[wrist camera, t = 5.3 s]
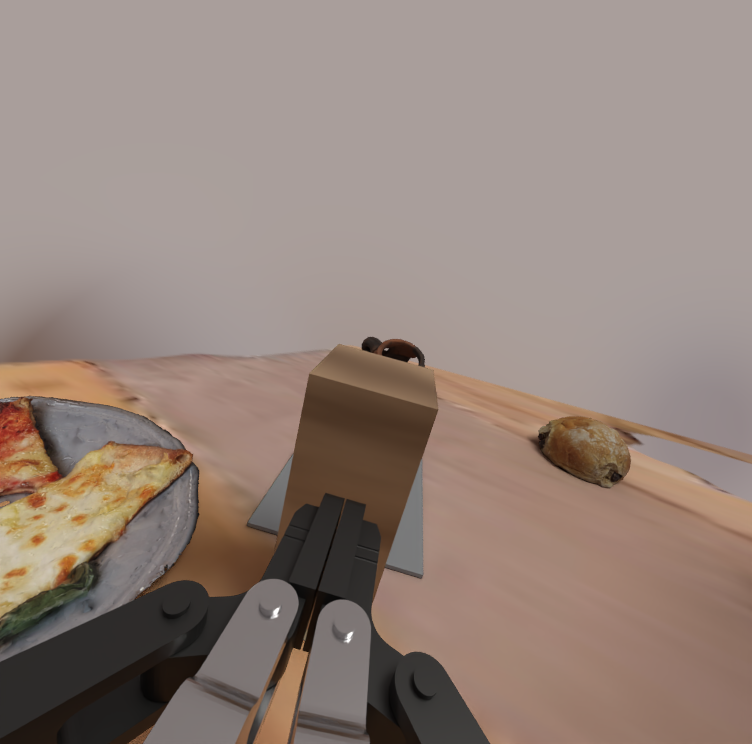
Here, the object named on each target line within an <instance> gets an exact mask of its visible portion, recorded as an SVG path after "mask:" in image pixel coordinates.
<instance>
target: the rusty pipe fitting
mask: <svg viewBox="0 0 752 744" xmlns="http://www.w3.org/2000/svg"><path fill="white" fill-rule="evenodd" d="M385 348H389V349H388V350H387V351H385V350H384V349H385ZM362 350H363V351H367V352H370V353H374V354H378V355H381V356H385V357H388V358H392V359H396V360H399V361H403V362H408V361H409V359H410V358H415V357H417V358H418V360H419V365H418V366H421V367H425V365H424V362H425V361H424V360H425V359H424V355H423V354H422V352H421V351H420V350H419V349H418V348H417V347H416V346H415V345H413V344H412V343H410V342H407V341H404V340H401V339H391V340H387V341H385V342H383V343H382V342H381V341H380V340H378V339H377V338H374V337H368V338H367V339H365V340H364V341H363V343H362Z"/></svg>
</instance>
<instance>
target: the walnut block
mask: <svg viewBox="0 0 752 744" xmlns="http://www.w3.org/2000/svg"><path fill="white" fill-rule="evenodd" d="M437 412H438V403H437V395H436V387H435V378H434V370H432V369H428V368H425V367H421V366H417V365H414V364H410V363H407V362H403V361H399V360H396V359H392V358H388V357H385V356H381V355H378V354H374V353H370V352H367V351H363V350H359V349H356V348H352V347H349V346H345V345H341V344H338V345H337V346H336V347H335V348H334V349H333V350H332V351H331V352H330V353H329V354H328V355H327V356H326V357H325V358H324V359H323V360H322V361H321V362H320V363H319V364H318V365H317V366H316V367H315V368H314V369H313V370H312V371H311V372H310V373H309V378H308V383H307V388H306V393H305V398H304V403H303V408H302V413H301V418H300V424H299V429H298V434H297V439H296V444H295V449H294V454H293V459H292V464H291V469H290V475H289V480H288V485H287V490H286V495H285V500H284V505H283V510H282V515H281V520H280V525H279V531H278V536H277V541H276V546H275V551H276V549H277V547H278V545H279V543H280V541H281V539H282V537H283V536H284V533H285V531H286V529H287V527H288V526H289V523H290V521H291V519H292V517H293V515H294V513H295V512H296V511H297V510H298V509H300V508H301V507H302V506H303V505H305V504H310V505H313V506H317V507H319V506H320V504H321V501H322V499H323V496H324V494H325V493H329V494H332V495H335V496H339V497H342V498H345V500H344V504H343V508H342V512H343V509H344V505H345V502H346V499H349V500H353V501H356V502H360V503H363V504H366V508H365V513H364V517H363V520H365V521H368V522H372V523H375V524H377V526H378V529H379V532H380V535H381V543H380V550H379V557H378V563H377V571H376V578H375V586H374V593H373V600H374V597H375V594H376V591H377V588H378V586H379V583H380V580H381V577H382V574H383V571H384V568H385V565H386V562H387V559H388V556H389V553H390V550H391V547H392V544H393V541H394V538H395V535H396V533H397V530H398V527H399V524H400V521H401V518H402V515H403V512H404V509H405V506H406V503H407V500H408V497H409V494H410V491H411V488H412V485H413V483H414V480H415V477H416V474H417V471H418V468H419V465H420V462H421V459H422V456H423V453H424V450H425V447H426V444H427V441H428V438H429V435H430V433H431V430H432V427H433V424H434V421H435V418H436V415H437ZM342 512H341V515H342ZM340 518H341V516H340ZM339 522H340V519H339ZM338 525H339V523H338ZM337 528H338V527H337ZM335 535H336V534H335ZM275 551H274V553H275ZM373 600H372V603H373ZM315 601H316V600H315ZM314 605H315V604H314ZM313 609H314V607H313ZM312 612H313V610H312ZM311 616H312V613H311ZM310 620H311V617H310ZM310 620H309V623H308V626H307V630H306V633H305V636H304V639H303V640H305V639H306V635H307V632H308V628H309V624H310Z"/></svg>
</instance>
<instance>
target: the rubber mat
mask: <svg viewBox="0 0 752 744" xmlns="http://www.w3.org/2000/svg"><path fill="white" fill-rule="evenodd" d="M293 454H294V453H293ZM292 459H293V455H292V456H291V458H290V459H289V461H288V462H287V464H286V465H285V467H284V468H283V470H282V471H281V473H280V474H279V476H278V477H277V479H276V480H275V482H274V483H273V485H272V486H271V488H270V489H269V491H268V492H267V494H266V495H265V497H264V498H263V500H262V501H261V503H260V504H259V506H258V508H257V509H256V511H255V512H254V514H253V515H252V517H251V518H250V520H249V521H248V523H247V526H249V527H252V528H256V529H259V530H262V531H266V532H269V533H272V534H276V535H278V531H279V525H280V520H281V515H282V510H283V505H284V500H285V495H286V490H287V485H288V480H289V475H290V469H291V464H292ZM385 568H389V569H392V570H395V571H399V572H402V573H405V574H409V575H412V576H415V577H419V578H422V577H423V495H422V459H421V462H420V465H419V468H418V471H417V474H416V477H415V480H414V483H413V485H412V488H411V491H410V494H409V497H408V500H407V503H406V506H405V509H404V512H403V515H402V518H401V521H400V524H399V527H398V530H397V533H396V535H395V538H394V541H393V544H392V547H391V550H390V553H389V556H388V559H387V562H386V565H385Z"/></svg>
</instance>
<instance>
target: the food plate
mask: <svg viewBox="0 0 752 744" xmlns="http://www.w3.org/2000/svg"><path fill="white" fill-rule="evenodd" d="M192 457H193V454H191V452H189V451H187V450H186V449H185V448H184V445H183V444H182V443H181V442H180V440H178V439H177V438H175V437H173V436H172V435H171V434H170V433H169V432H168V431H166V430H163V429H162V428H161V427H159V426H157V425H156V424H155V423H154V422H152V421H151V420H149V419H148V418H146V417H144V416H140V415H139V414H135V413H133V412H129V411H126V410H123V409H120V408H117V407H113V406H108V405H102V404H94V403H87V402H81V401H73V400H67V399H58V398H53V397H51V398H50V397H49V398H46V397H40V396H39V397H37V396H28V397H10V398H4V399H0V503H1V502H4V501H10V503H9V504H8V505H5V506H3V507H0V662H1V661H3V660H5V659H7V658H9V657H12V656H14V655H16V654H18V653H20V652H22V651H25V650H27V649H29V648H31V647H33V646H35V645H38V644H40V643H42V642H44V641H46V640H48V639H51V638H53V637H55V636H57V635H59V634H61V633H64V632H66V631H68V630H70V629H72V628H74V627H77V626H79V625H81V624H83V623H85V622H87V621H90V620H92V619H94V618H96V617H98V616H100V615H103V614H105V613H107V612H109V611H111V610H113V609H116V608H118V607H120V606H122V605H124V604H126V603H129V602H131V601H133V600H134V599H135V598H136V597H137V596H138V595H139V594H140V593H141V592H142V591H144V590H145V589H146V588H148V587H149V586H151V585H150V584H151V583H153V582H154V581H155V580H156V579H158V578H159V577H160V576H161V575H163V574H164V573H165V571H164V568H167V569H168V570H169V569H170V568H171V567H172V566H173V565H174V562H176V560H177V558H178V555H181V552H183V550H184V549H185V548H186V545H188V544H189V543H190V540H191V538H192V534H193V532H194V530H195V528H196V523H197V519H198V516H199V513H198V508H199V507H198V503H199V500H198V484H199V482H198V480H199V470H198V467H196V465H195V464H194V463H193V462H192ZM168 570H167V571H168ZM160 574H161V575H160Z"/></svg>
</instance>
